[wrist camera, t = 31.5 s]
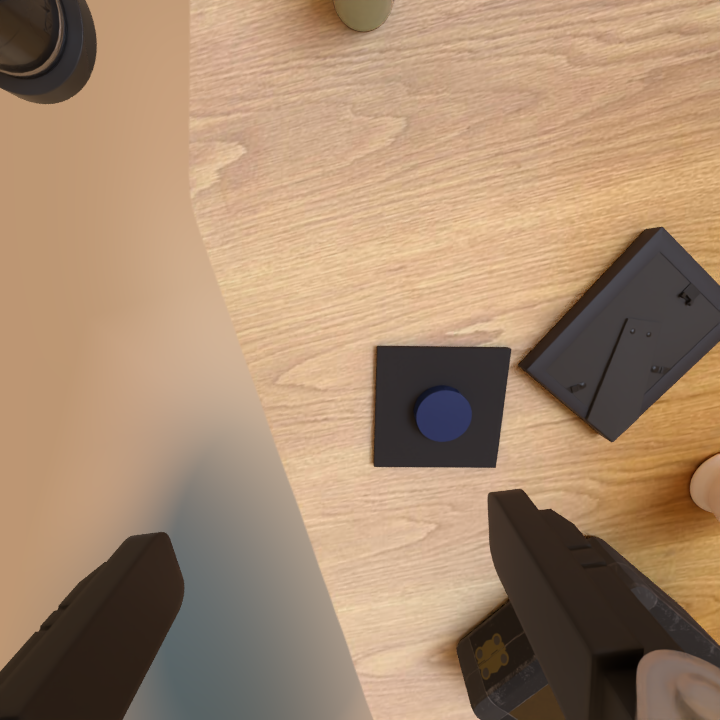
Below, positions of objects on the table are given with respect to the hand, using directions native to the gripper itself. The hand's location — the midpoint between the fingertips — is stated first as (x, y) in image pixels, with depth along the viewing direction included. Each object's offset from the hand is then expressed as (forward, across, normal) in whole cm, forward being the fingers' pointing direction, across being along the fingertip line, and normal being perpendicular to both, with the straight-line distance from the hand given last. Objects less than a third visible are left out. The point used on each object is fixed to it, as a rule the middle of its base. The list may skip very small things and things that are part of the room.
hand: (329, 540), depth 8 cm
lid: (+26, -9, +10) cm, 29 cm away
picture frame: (+28, -29, +4) cm, 40 cm away
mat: (+28, -9, +10) cm, 31 cm away
